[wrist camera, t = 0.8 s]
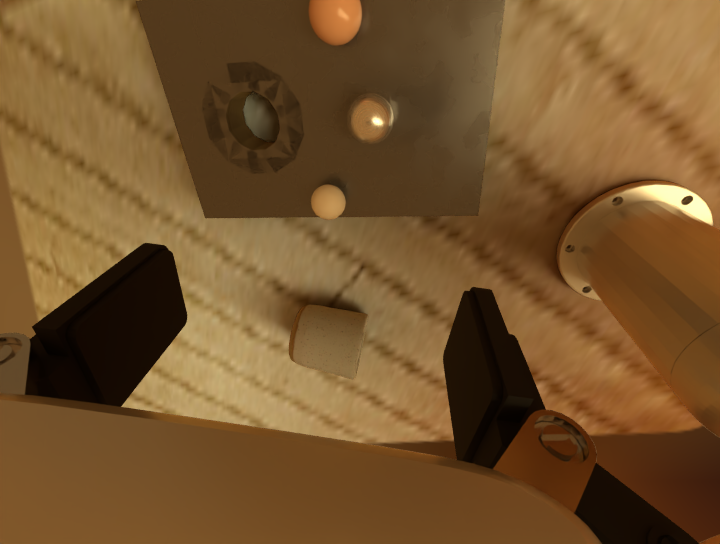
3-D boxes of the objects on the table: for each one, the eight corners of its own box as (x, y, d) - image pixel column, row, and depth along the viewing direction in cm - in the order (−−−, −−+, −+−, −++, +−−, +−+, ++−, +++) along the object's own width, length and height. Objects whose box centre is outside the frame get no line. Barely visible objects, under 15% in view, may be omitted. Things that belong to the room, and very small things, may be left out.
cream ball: (346, 179, 30) (340, 190, 28) (349, 211, 32) (344, 225, 29) (313, 180, 30) (304, 191, 28) (317, 212, 32) (309, 225, 30)
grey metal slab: (498, -28, 24) (510, -40, 21) (472, 201, 33) (478, 215, 30) (164, 7, 28) (135, 1, 25) (221, 205, 37) (205, 218, 34)
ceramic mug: (304, 290, 42) (284, 334, 35) (370, 301, 41) (363, 347, 35) (303, 351, 47) (286, 398, 41) (361, 361, 47) (353, 410, 41)
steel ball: (394, 89, 26) (392, 93, 23) (394, 138, 28) (393, 148, 25) (349, 92, 26) (341, 97, 23) (352, 140, 28) (345, 149, 25)
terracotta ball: (363, -19, 23) (356, -30, 20) (366, 44, 25) (360, 42, 22) (312, -14, 23) (298, -24, 20) (318, 48, 25) (306, 47, 22)
